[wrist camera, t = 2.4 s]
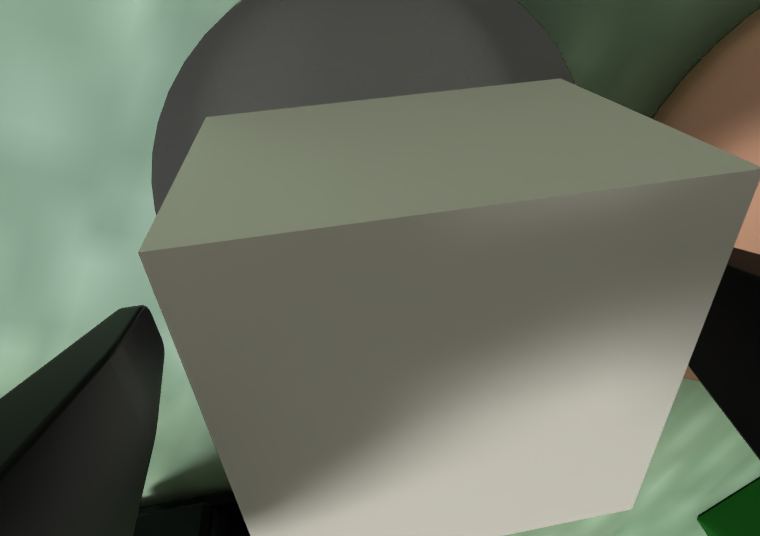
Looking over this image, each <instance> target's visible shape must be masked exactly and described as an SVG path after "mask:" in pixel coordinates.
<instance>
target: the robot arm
mask: <svg viewBox="0 0 760 536" xmlns="http://www.w3.org/2000/svg"><path fill="white" fill-rule="evenodd" d="M163 364H164V344H163V341H162V338H161V336H160V333H159V331H158V329H157V326H156V324H155V321H154V319H153V316H152V314H151V312H150V310H149V309H148V308H147V307H146V306H144V305H139V306H132V307H125V308H121V309H119V310H117V311H116V312H114V313H113V314H112V315H110V316H109V317H108V318H106V319H105V320H104V321H103V322H101V323H100V324H99V325H97V326H96V327H95V328H93V329H92V330H91V331H89V332H88V333H87V334H85V335H84V336H83V337H81V338H80V339H79V340H77V341H76V342H75V343H73V344H72V345H71V346H69V347H68V348H67V349H65V350H64V351H63V352H61V353H60V354H59V355H58V356H56V357H55V358H54V359H52V360H51V361H50V362H48V363H47V364H46V365H44V366H43V367H42V368H40V369H39V370H38V371H36V372H35V373H34V374H32V375H31V376H30V377H28V378H27V379H26V380H24V381H23V382H22V383H20V384H19V385H18V386H16V387H15V388H14V389H12V390H11V391H10V392H9V393H7V394H6V395H5V396H3V397H2V398H1V399H0V536H250V533H249V531H248V528H247V526H246V523H245V521H244V518H243V516H242V513H241V511H240V508H239V506H238V503H237V501H236V498H235V495H234V493H233V492H227V493H222V494H216V495H211V496H205V497H200V498H195V499H189V500H184V501H178V502H173V503H168V504H162V505H157V506H151V507H146V508H141V509H139V506H140V502H141V498H142V493H143V489H144V485H145V480H146V476H147V472H148V467H149V463H150V459H151V454H152V450H153V446H154V441H155V436H156V429H157V422H158V413H159V403H160V393H161V384H162V374H163ZM688 366H689V368H690V369H691V370H692V372H693V373H694V374H695V375H696V377H697V378H698V379H699V381H700V382H701V383H702V385H703V386H704V387H705V389H706V390H707V391H708V393H709V394H710V395H711V397H712V398H713V399H714V400H715V402H716V403H717V404H718V406H719V407H720V408H721V410H722V411H723V412H724V414H725V415H726V416H727V418H728V419H729V420H730V422H731V423H732V424H733V426H734V427H735V428H736V429H737V431H738V432H739V433H740V435H741V436H742V437H743V439H744V440H745V441H746V443H747V444H748V445H749V447H750V448H751V449H752V451H753V452H754V453H755V454H756V456H757V457H758V458H759V460H760V254H757V253H753V252H749V251H746V250H742V249H738V248H735V247H733V250H732V253H731V255H730V258H729V260H728V263H727V265H726V268H725V271H724V273H723V276H722V278H721V281H720V284H719V286H718V289H717V291H716V294H715V296H714V299H713V302H712V304H711V307H710V309H709V312H708V314H707V317H706V320H705V322H704V325H703V327H702V330H701V332H700V335H699V338H698V340H697V343H696V345H695V348H694V351H693V353H692V356H691V358H690V361H689V363H688Z"/></svg>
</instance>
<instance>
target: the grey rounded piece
mask: <svg viewBox="0 0 760 536" xmlns="http://www.w3.org/2000/svg"><path fill="white" fill-rule="evenodd" d="M559 78H561V79H563V80H565V81H568V82H570V83H572V84H574V81H573V78H572V75H571V73H570V71H569V69H568V67H567V65H566V63H565V61H564V59H563V57H562V55H561V53H560V51H559V50H558V48H557V47H556V45H555V44H554V42H553V41H552V40H551V38H550V37H549V35H548V34H547V32H546V31H545V30H544V28H543V27H542V26H541V25H540V24H539V23H538V22H537V21H536V20H535V19H534V18H533V17H532V16H531V15H530V13H529V12H528V11H527V10H526V9H525V8H524V7H523V6H522V5H521V4H519V3H518V2H516V1H515V0H242V1H240V2H239V3H238V4H236V5H235V6H234V7H233V8H232V9H231V10H230V11H229V12H228V13H226V14H225V15H224V16H223V17H222V18H221V19H220V20H219V21H218V22H217V23H216V24H215V25H214V26H213V27H212V28H211V29H210V30H209V31H208V32H207V33H206V34H205V35H204V37H203V38H202V39H201V41H200V42H199V43H198V45H197V46H196V47H195V49H194V50H193V51H192V53H191V54H190V55H189V57H188V58H187V59H186V61H185V62H184V64H183V66H182V67H181V69H180V71H179V73H178V75H177V77H176V79H175V81H174V82H173V84H172V86H171V88H170V90H169V92H168V95H167V98H166V101H165V103H164V106H163V109H162V112H161V115H160V118H159V121H158V125H157V130H156V136H155V141H154V147H153V152H152V189H153V198H154V206H155V212H156V216H157V214H158V212H159V210H160V208H161V206H162V204H163V202H164V200H165V198H166V196H167V194H168V192H169V190H170V188H171V186H172V184H173V182H174V180H175V178H176V176H177V174H178V172H179V170H180V168H181V166H182V164H183V162H184V160H185V158H186V156H187V154H188V152H189V150H190V148H191V146H192V144H193V142H194V140H195V138H196V136H197V134H198V132H199V130H200V128H201V126H202V124H203V122H204V120H205V118H206V117H211V116H220V115H229V114H238V113H247V112H257V111H266V110H275V109H284V108H293V107H302V106H312V105H321V104H330V103H339V102H348V101H358V100H367V99H376V98H385V97H394V96H403V95H413V94H422V93H431V92H440V91H449V90H458V89H468V88H477V87H486V86H495V85H504V84H514V83H523V82H532V81H541V80H550V79H559ZM574 85H575V84H574Z"/></svg>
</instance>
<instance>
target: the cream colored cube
mask: <svg viewBox="0 0 760 536" xmlns="http://www.w3.org/2000/svg"><path fill="white" fill-rule="evenodd" d="M759 180H760V166H758V165H755V164H753V163H751V162H749V161H746V160H744V159H742V158H739V157H737V156H735V155H733V154H730V153H728V152H726V151H724V150H721V149H719V148H717V147H715V146H712V145H710V144H708V143H706V142H703V141H701V140H699V139H697V138H694V137H692V136H690V135H687V134H685V133H683V132H681V131H678V130H676V129H674V128H672V127H669V126H667V125H665V124H663V123H660V122H658V121H656V120H654V119H651V118H649V117H647V116H645V115H642V114H640V113H638V112H635V111H633V110H631V109H629V108H626V107H624V106H622V105H620V104H617V103H615V102H613V101H611V100H608V99H606V98H604V97H602V96H599V95H597V94H595V93H592V92H590V91H588V90H586V89H583V88H581V87H579V86H577V85H574V84H572V83H570V82H568V81H565V80H563V79H561V78H559V79H550V80H541V81H532V82H523V83H514V84H504V85H495V86H486V87H477V88H468V89H458V90H449V91H440V92H431V93H422V94H413V95H403V96H394V97H385V98H376V99H367V100H358V101H348V102H339V103H330V104H321V105H312V106H302V107H293V108H284V109H275V110H266V111H257V112H247V113H238V114H229V115H220V116H211V117H206V118H205V120H204V122H203V124H202V126H201V128H200V130H199V132H198V134H197V136H196V138H195V140H194V142H193V144H192V146H191V148H190V150H189V152H188V154H187V156H186V158H185V160H184V162H183V164H182V166H181V168H180V170H179V172H178V174H177V176H176V178H175V180H174V182H173V184H172V186H171V188H170V190H169V192H168V194H167V196H166V198H165V200H164V202H163V204H162V206H161V208H160V210H159V212H158V214H157V216H156V218H155V220H154V222H153V224H152V226H151V228H150V230H149V232H148V234H147V236H146V238H145V240H144V242H143V244H142V246H141V248H140V250H139V252H138V253H139V256H140V258H141V261H142V263H143V266H144V268H145V271H146V273H147V276H148V278H149V281H150V284H151V286H152V289H153V291H154V294H155V296H156V299H157V301H158V304H159V306H160V309H161V311H162V314H163V316H164V319H165V321H166V324H167V326H168V329H169V331H170V334H171V337H172V339H173V342H174V344H175V347H176V349H177V352H178V354H179V357H180V359H181V362H182V364H183V367H184V369H185V372H186V374H187V377H188V379H189V382H190V384H191V387H192V390H193V392H194V395H195V397H196V400H197V402H198V405H199V407H200V410H201V412H202V415H203V417H204V420H205V422H206V425H207V427H208V430H209V432H210V435H211V437H212V440H213V442H214V445H215V448H216V450H217V453H218V455H219V458H220V460H221V463H222V465H223V468H224V470H225V473H226V475H227V478H228V480H229V483H230V485H231V488H232V490H233V493H234V495H235V498H236V501H237V503H238V506H239V508H240V511H241V513H242V516H243V518H244V521H245V523H246V526H247V528H248V531H249V533H250V536H503V535H508V534H513V533H518V532H523V531H528V530H533V529H538V528H542V527H547V526H552V525H557V524H562V523H567V522H572V521H577V520H582V519H586V518H591V517H596V516H601V515H606V514H611V513H616V512H621V511H626V510H630V509H632V508H633V505H634V503H635V500H636V497H637V495H638V492H639V490H640V487H641V485H642V482H643V479H644V477H645V474H646V472H647V469H648V467H649V464H650V461H651V459H652V456H653V454H654V451H655V448H656V446H657V443H658V441H659V438H660V436H661V433H662V430H663V428H664V425H665V423H666V420H667V418H668V415H669V412H670V410H671V407H672V405H673V402H674V400H675V397H676V394H677V392H678V389H679V387H680V384H681V381H682V379H683V376H684V374H685V371H686V369H687V366H688V363H689V361H690V358H691V356H692V353H693V351H694V348H695V345H696V343H697V340H698V338H699V335H700V332H701V330H702V327H703V325H704V322H705V320H706V317H707V314H708V312H709V309H710V307H711V304H712V302H713V299H714V296H715V294H716V291H717V289H718V286H719V284H720V281H721V278H722V276H723V273H724V271H725V268H726V265H727V263H728V260H729V258H730V255H731V253H732V250H733V247H734V245H735V242H736V240H737V237H738V235H739V232H740V229H741V227H742V224H743V222H744V219H745V217H746V214H747V211H748V209H749V206H750V204H751V201H752V198H753V196H754V193H755V191H756V188H757V186H758V183H759Z"/></svg>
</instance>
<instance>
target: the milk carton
mask: <svg viewBox="0 0 760 536" xmlns="http://www.w3.org/2000/svg"><path fill="white" fill-rule="evenodd" d="M697 520H698V521H699V523H700V525H701V526H702V528H703V529H704V531H705V532H706V534H707V536H760V478H759V479H758V480H756V481H755V482H753V483H752V484H750V485H748V486H747V487H745V488H744V489H742V490H740V491H739V492H737V493H736V494H734V495H733V496H731V497H729V498H728V499H726V500H725V501H723V502H721V503H720V504H718V505H717V506H715V507H714V508H712V509H710V510H709V511H707V512H706V513H704V514H702V515H701V516H699V517H698V518H697Z"/></svg>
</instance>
